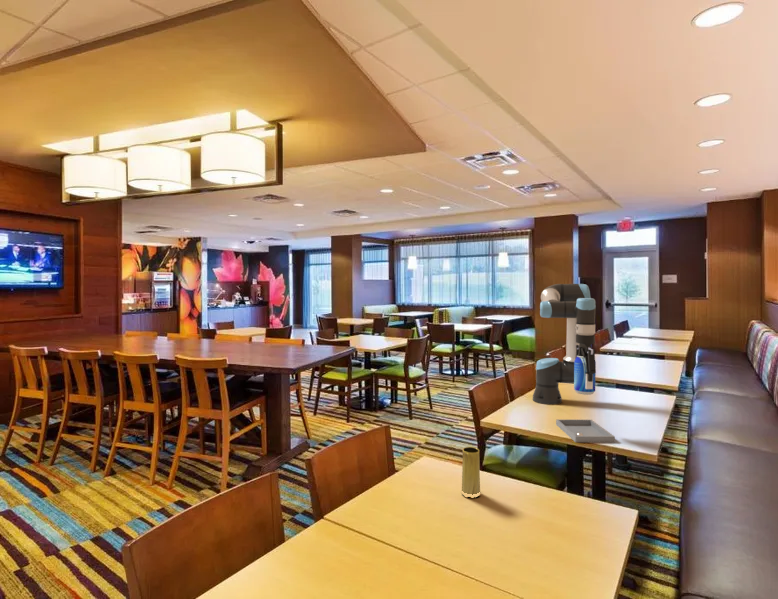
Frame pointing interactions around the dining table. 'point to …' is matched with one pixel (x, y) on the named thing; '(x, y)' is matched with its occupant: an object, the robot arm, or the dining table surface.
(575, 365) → the beer can
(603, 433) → the tray
